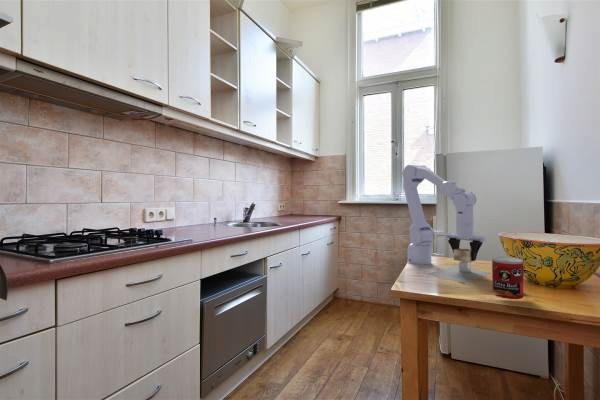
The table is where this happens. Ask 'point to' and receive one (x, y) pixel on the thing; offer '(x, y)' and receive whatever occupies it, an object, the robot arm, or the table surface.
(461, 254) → the collar
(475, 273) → the board
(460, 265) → the pale grey block
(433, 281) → the table surface
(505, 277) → the canned food
